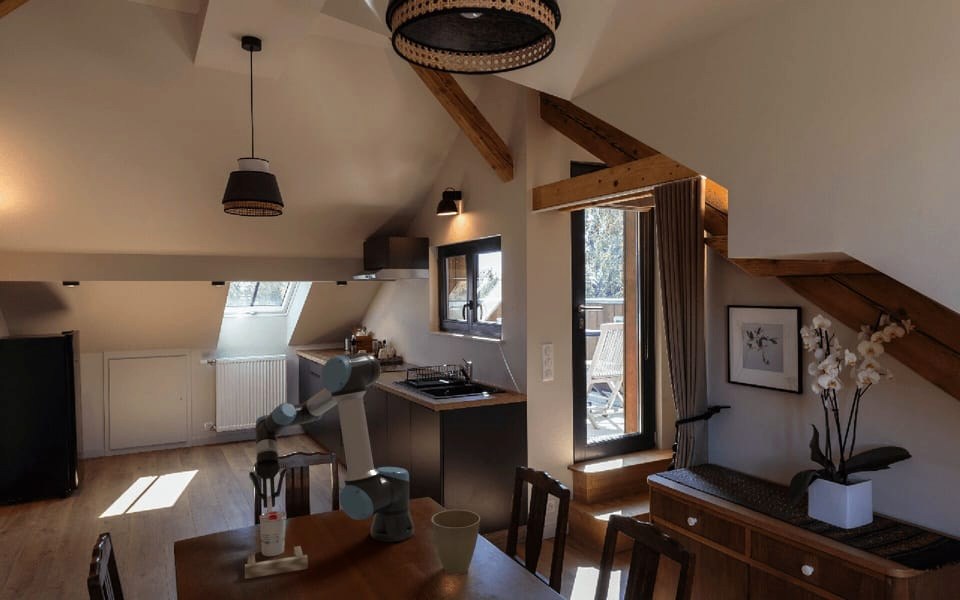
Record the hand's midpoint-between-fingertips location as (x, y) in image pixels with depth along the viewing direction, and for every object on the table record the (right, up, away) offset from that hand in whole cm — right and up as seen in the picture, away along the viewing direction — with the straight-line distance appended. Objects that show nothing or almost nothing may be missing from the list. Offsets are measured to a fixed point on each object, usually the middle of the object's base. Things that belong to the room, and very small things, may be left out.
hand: (269, 515), depth 212 cm
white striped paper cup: (+4, -9, -10) cm, 14 cm away
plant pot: (+65, -9, -23) cm, 69 cm away
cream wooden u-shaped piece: (+9, -9, -20) cm, 23 cm away
